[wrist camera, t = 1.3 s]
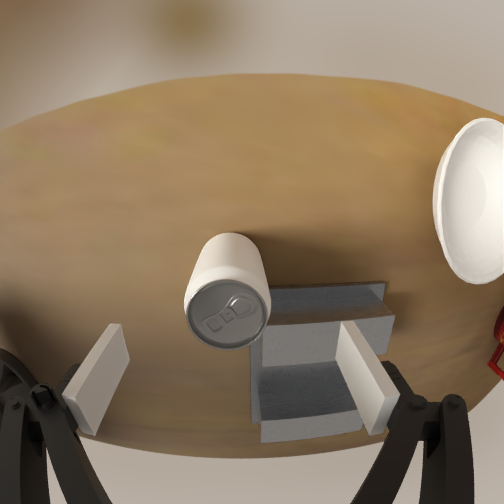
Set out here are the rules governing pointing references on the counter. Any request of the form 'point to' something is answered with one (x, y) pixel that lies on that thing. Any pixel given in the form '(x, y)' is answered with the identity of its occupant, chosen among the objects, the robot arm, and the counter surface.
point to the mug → (503, 335)
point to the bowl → (472, 201)
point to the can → (228, 294)
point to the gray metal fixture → (312, 358)
